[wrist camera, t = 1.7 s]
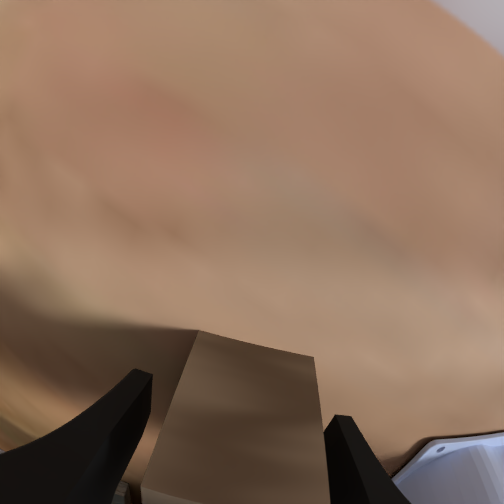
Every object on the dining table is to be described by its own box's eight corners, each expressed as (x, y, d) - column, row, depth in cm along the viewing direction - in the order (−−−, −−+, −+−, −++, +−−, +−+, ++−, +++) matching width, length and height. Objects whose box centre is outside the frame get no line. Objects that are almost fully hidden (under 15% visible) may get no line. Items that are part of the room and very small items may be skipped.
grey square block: (130, 479, 16) (123, 496, 14) (132, 497, 17) (127, 512, 15) (78, 457, 16) (70, 473, 14) (86, 479, 17) (79, 493, 15)
